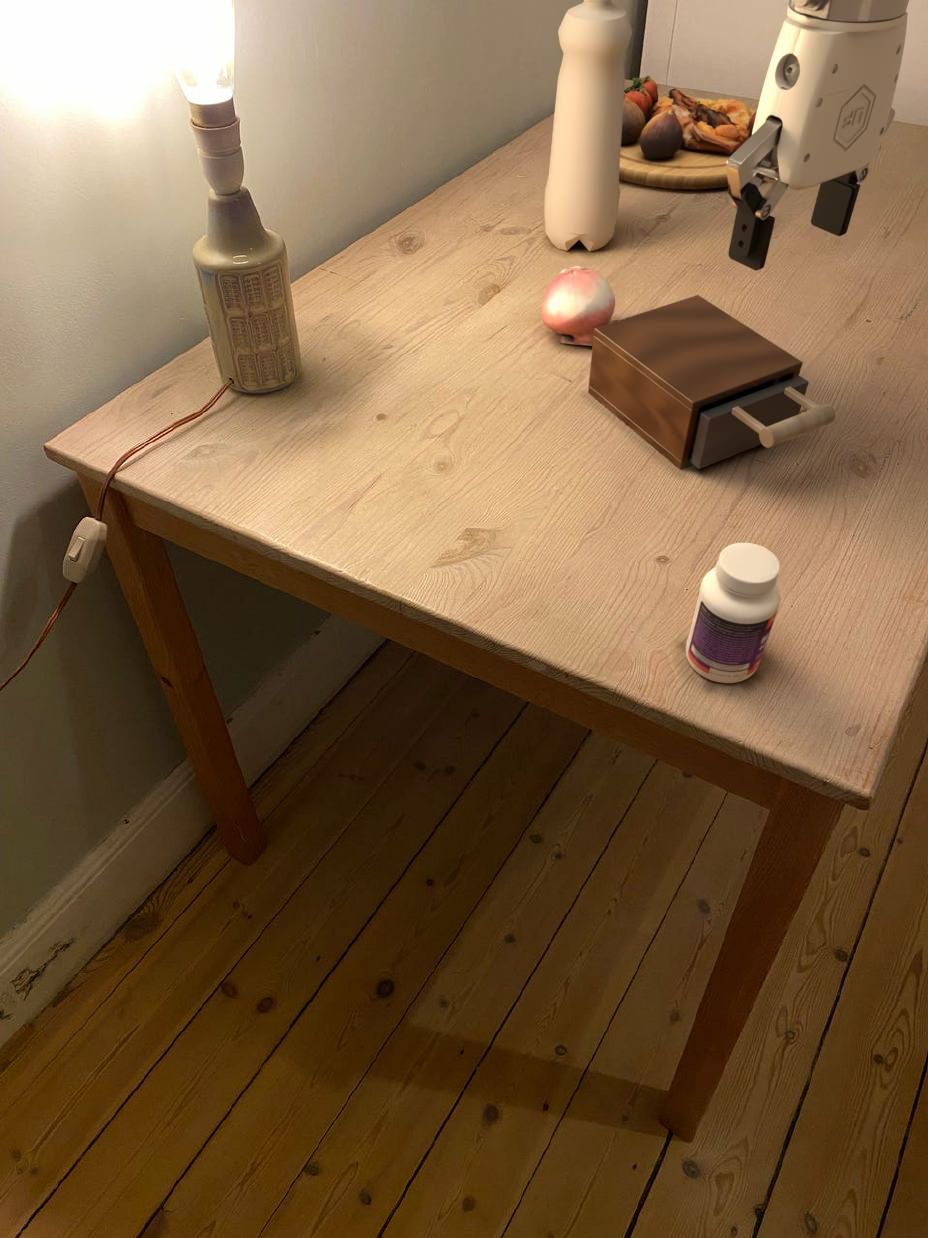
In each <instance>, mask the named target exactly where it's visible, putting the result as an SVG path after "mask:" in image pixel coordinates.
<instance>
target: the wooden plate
mask: <svg viewBox="0 0 928 1238" xmlns="http://www.w3.org/2000/svg"><path fill="white" fill-rule="evenodd" d="M631 81H632V85H631V86H628V87H626V88H625V89H624V103H623V119H622V135H621V151H620V167H619V181H620V180H621V181H625V182H628V183H633V184H637V185H642V186H647V187H655V188H663V189H673V190H708V189H709V190H710V189H718V188H719V189H721V188H727V187H729V183H728V178H727V172H726V162H727V160H728V159H729V157H730V156H731V155H732V154H733V153H734V152H735V151H736V150H737V149H738V148H739V147H740V146H741V145H742V144H743V143H745V142H746V141H747V140H748V139H749V138H750V137H751V136H752V131H753V127H754V122H755V118H756V113H757V110H754V109H751V108H750V107H749V106H748V105H747V104H746V103H744V102H742V101H739V100H738V99H735V98H730V99H725V98H719V99H716V100H715V99H712V98H711V99H710V98H702V97H696V96H692V95H686V94H685V93H684V92H682V91H681V90H680V89H677V88H672V89H670V90H669V91H668V95H663V96H659V91H658V85H657V83H656V81H655V80H653V79H652V78H651V75H645V76H644V77H642V78H641V77H633V78H632V79H631ZM774 170H776V171H779V168H777V169H774Z"/></svg>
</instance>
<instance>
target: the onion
mask: <svg viewBox="0 0 928 1238" xmlns="http://www.w3.org/2000/svg"><path fill="white" fill-rule="evenodd" d="M615 307H616V297H615V294H614V291H613V289H612V287H611V285H610V284H609V282H608V281H607V280H606V278H605V277H604V276H603V275H602V274H600V272H597V271H595V270H592V269H590V268H587V267H584V266H581V265H573V266H571V267H568V268H564V269H562V270H561V271H560V272H559V274H558V275H557V276H556V277H555V278H554V279H553V280H552V281H551V282H550V283H549V284H548V286H547V287H546V289H545V292H544V294H543V298H542V303H541V309H540V314H541V320H542V323H544V325H545V327H547V328H548V329H549V330H551V331H552V332H554V333H555V334H556V335H557V337H558V340H559V341H560V343H561V344H565V345H566V344H568V345H579V346H589V347H590V346H591V347H593V337H594V329H595V328H597V327H600V326H603V325H606V324H609V323H610V321H611V319H612V317H613V315H614V312H615ZM615 321H618V319H616V320H615ZM615 321H613V322H615Z"/></svg>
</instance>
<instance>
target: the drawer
mask: <svg viewBox="0 0 928 1238" xmlns="http://www.w3.org/2000/svg"><path fill="white" fill-rule="evenodd" d="M781 378H782V377H779V378H777V379H774V380H771V381H769V382H766V383H763V384H760V385H758V386H755V387H752V388H750V389H747V390H744V391H742V392H739V393H736V394H734V395H731V396H728V397H726V398H723V399H720V400H718V401H715V402H712V403H710V404H707V405H704V406H702V407H699V409H698V414H697V419H696V423H695V428H694V433H693V438H692V443H691V448H693V447H694V449H693V454H692V458H691V463H692V465H694V466H695V467H696V468H697V469H699V470H700V469H702V468H705V467H708V466H710V465H713V464H715V463H718V462H721V461H722V460H725V459H728V458H731V457H733V456H735V455H738V454H740V453H742V452H746V451H747V450H751V449H752V448H754V447H757V446H760V445H761V446H763V447H764V448H767V449H770V448H773V447H775V446H778V445H780V444H782V443H785V442H787V441H790V440H793V439H794V438H798V437H800V436H802V435H805V434H806V433H810V432H812V431H814V430H815V431H816V430H817V429H819V428H822V427H825V426H827V425H829V424H832V423H833V422H835V420H836V417H837V415H836V413H837V412H836V409H835V408H834V407H833V406H832V405H831V404H830V403H823V404H821V405H819V404H817V403H816V402H815V401H813V400H811V399H810V398H808V397H807V396H806V394H807V393H806V392H807V390H808V385H809V383H810V381H809V380H807V379H805V378H804V377H802V376H801V375H799V376H797V377H795V378H792V379H789V380H787V381H784V382H781V383H780V381H781ZM802 407H803V408H804V409H805V410H806V411H803V412H801V409H802Z"/></svg>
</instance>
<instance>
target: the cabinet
mask: <svg viewBox="0 0 928 1238" xmlns="http://www.w3.org/2000/svg"><path fill="white" fill-rule="evenodd" d="M591 347H592V349H591V356H590V357H591V359H590V367H589V368H590V369H589V378H588V389H587V393H588V394H589V395H590V396H592V397H593V398H595V399H596V400H597V401H598V402H599V403H600V404H601V405H603V406H604V407H605V408H606V409H608V411H610V412H611V413H612V414H614V415H615V416H616V417H617V418H618V419H619V420H621V421H622V422H623V423H624V424H626V425H627V426H628V427H629V428H630V429H631V430H633V431H634V432H635V433H637V435H639V437H641V438H642V439H643V440H645V441H646V442H647V443H648V444H649V445H651V447H653V448H654V449H655V450H656V451H658V452H659V453H660V454H661V455H662V456H663V457H665V458H666V459H667V460H668V461H670V462H671V463H672V464H673V465H675V466H676V467H677V468H678V469H680V470H681V469H684V468H686V467H689V466H692V465H693V464H692V463H691V458H692V454H693V449H694V447H693V448H691V443H692V438H693V433H694V428H695V423H696V419H697V414H698V409H699V407H702V406H704V405H707V404H710V403H712V402H715V401H718V400H720V399H723V398H726V397H728V396H731V395H734V394H736V393H739V392H742V391H744V390H747V389H750V388H752V387H755V386H758V385H760V384H763V383H766V382H769V381H771V380H774V379H777V378H779V377H782V378H781V381H780V383H781V382H784V381H787V380H789V379H792V378H795V377H797V376H800V373H801V370H802V366H803V361H802V360H800V359H798V358H797V357H795V356H793V354H791V353H789V352H788V351H786V350H785V349H783V348H781V347H780V346H778V345H777V344H775V343H773V342H772V341H770V340H769V339H767V338H766V337H764V336H763V335H761V334H759V333H758V332H757V331H755V330H753V329H752V328H750V327H748V326H747V325H746V324H744V323H743V322H741V321H739V320H738V319H737V318H735V317H734V316H731V315H730V314H729V313H727V312H725V311H724V310H723V309H721V308H719V307H717V306H716V305H715V304H713V303H711V302H710V301H708V300H707V299H705V298H704V297H702V296H700V295H699V294H697V295H696V294H695V295H694V296H691V297H687V298H684V299H681V300H677V301H675V302H672V303H668V304H665V305H663V306H662V305H661V306H659V307H656V308H653V309H650V310H647V311H643V312H641V313H637V314H633V315H630V316H628V317H624V318H622V319H617V321H616V320H615V322H614V321H612V322H609V323H608V324H606V325H603V326H600V327H597V328H595V329H594V337H593V346H591Z"/></svg>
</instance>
